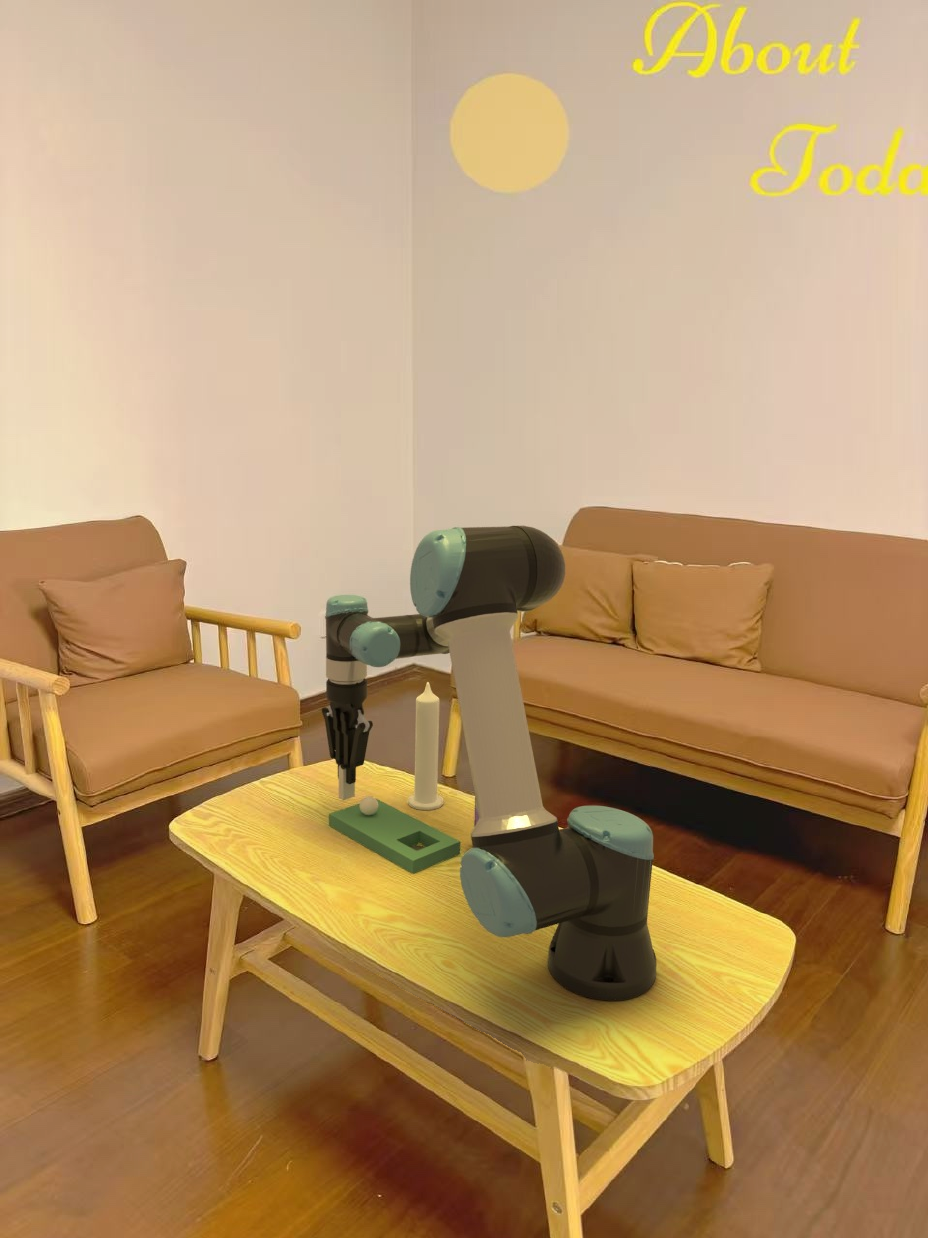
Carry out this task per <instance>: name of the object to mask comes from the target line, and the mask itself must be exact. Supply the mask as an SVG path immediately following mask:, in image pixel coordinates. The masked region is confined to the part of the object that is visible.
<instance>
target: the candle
mask: <svg viewBox="0 0 928 1238" xmlns="http://www.w3.org/2000/svg"><path fill="white" fill-rule="evenodd" d="M439 725H440V698H439V697H438V696H437V695H436V694H434V693H433V691H432V688H431V684H430V682H429V681H427V682H426V684H425V689H424V691H423V693H421V694H419V695H418V696H417V697H416V699H415V730H414V731H415V734H414V735H415V738H414V742H415V743H414V745H415V746H414V786H413V787H414V791H413V792H414V793H413V794H410V795H409V796H408V798H407V804H408V805H409V807H411V808H412V809H415V810H418V811H419V810H420V811H432V810H433V811H434V810H437V809H439V808H441V807H443V805H444V798H443V797H442V795H440V794H438V773H439V772H438V771H439V769H438V767H439V736H440V735H439V730H440V729H439V728H440V726H439Z"/></svg>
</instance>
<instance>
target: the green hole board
mask: <svg viewBox="0 0 928 1238" xmlns="http://www.w3.org/2000/svg"><path fill="white" fill-rule="evenodd" d="M374 798H375V799H376V800H377V802H378V810H377V811H376V812H375V813H374V814H372V815H365V814H363V813H362V812H361V810H360V807H359V805H360V802H358V803H356V804H354V805H351V806H348V807H344V808H342V809H339V810H335V811H333V812H330V813H328V826H329V827H330V828H332V829H334V830H335V831H337V832H339V833H341V834H343V835H344V836H346V837H348V838H350V840H351V839H352V840H353V841H354V842H356V843H358V844H360V845H361V846H364V847H365V848H366V849H369V850H370V851H372V852H374V853H376V854H378V855H379V856H381V857H383V858H384V859H386V860H388V861H389V862H391V863H393V864H394V865H397V866H398V867H400V868H401V869H403V870H406V872H409V873H411V874H412V875H414V874H416V873H418V872H420V871H423V870H425V869H427V868H429V867H433V866H434V865H438V864H439V863H442V862H444V861H446V860H449V859H451V858H453V857H456V856H458V855H461V840H459V839H457V838H455V837H454V836H451V835H450V834H447V833H445V832H443V831H441V830H439V829H437V828H436V827H433V826H431V825H429V824H427V823H425V822H423V821H421V820H420V819H417V818H415V817H414V816H412V815H410V814H407V813H406V812H404V811H402V810H401V809H398V808H397V807H394V806H392V805H390V804H388V803H386V802H385V801H382V800H380V799H378V798H376V797H374ZM419 844H421V845H419Z"/></svg>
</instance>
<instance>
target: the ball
mask: <svg viewBox="0 0 928 1238" xmlns="http://www.w3.org/2000/svg"><path fill="white" fill-rule="evenodd" d="M375 798H376V797H374V796H372V795H371V796H370V795H368V796H367V795H366V796H364V797H362V799H361V800H360V801H359V803H360V805H359V807H360V810H361V812H362V813H363V814H365V815H372V814H374V813H375V812H376V811H377V810H378V802H377V800H376V799H377V798H376V799H375Z"/></svg>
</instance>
